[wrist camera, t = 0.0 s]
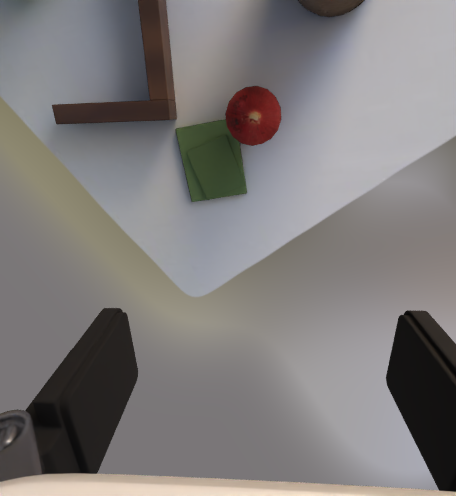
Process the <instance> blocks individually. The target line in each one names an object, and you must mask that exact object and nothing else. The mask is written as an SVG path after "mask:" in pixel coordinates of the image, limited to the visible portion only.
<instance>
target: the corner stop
mask: <svg viewBox="0 0 456 496" xmlns="http://www.w3.org/2000/svg"><path fill="white" fill-rule="evenodd" d="M138 5H139V13H140V22H141V30H142V38H143V46H144V55H145V63H146V71H147V80H148V88H149V96H150V101H127V102H104V103H81V104H58V105H52V108H53V112H54V116H55V121H56V124H77V123H103V122H129V121H155V120H175V119H177V115H176V104H175V93H174V82H173V71H172V61H171V50H170V39H169V28H168V17H167V6H166V0H138Z"/></svg>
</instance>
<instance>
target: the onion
mask: <svg viewBox="0 0 456 496" xmlns="http://www.w3.org/2000/svg"><path fill="white" fill-rule="evenodd" d="M225 115H226V124H227V128H228V129H229V131H230V133H231V134H232V136H233V137H234V138H235V139H237V140H238V141H239V142H241V143H242V144H247V145H251V146H253V145H258V144H262V143H264V142H266V141H268V140H270V139H271V138H272V137H273V136H274V134H275V133H276V132H277V131H278V128H279V125H280V121H281V108H280V105H279V103H278V101H277V99H276V97H275V96H274V95H273V94H272V93H271V92H270V91H269V90H268V89H265V88H262V87H258V86H252V87H246V88H244V89H242V90H240V91H238V92H236V94H235V95H234V96H233V97H232V99H231V100H230V101H229V104H228V107H227V110H226V113H225Z"/></svg>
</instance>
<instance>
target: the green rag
mask: <svg viewBox="0 0 456 496" xmlns="http://www.w3.org/2000/svg"><path fill="white" fill-rule="evenodd" d="M176 134H177V138H178V142H179V147H180V151H181V156H182V160H183V165H184V169H185V173H186V178H187V182H188V187H189V191H190V196H191V200H192V202H195V201H202V200H209V199H214V198H221V197H227V196H233V195H239V194H246V193H247V189H246V183H245V176H244V170H243V163H242V157H241V151H240V144H239V141H238V140H237V139H235V138H234V137H233V136H232V134H231V133H230V131H229V129H228V128H227V124H226V119H225V120H220V121H214V122H209V123H204V124H199V125H193V126H188V127H183V128H178V129H176Z"/></svg>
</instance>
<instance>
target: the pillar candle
mask: <svg viewBox="0 0 456 496" xmlns="http://www.w3.org/2000/svg"><path fill="white" fill-rule="evenodd" d="M298 1H299V2H300V3H301V4H302V5H303V6H304V7H305V8H306V9H308V10H309V11H311V12H313V13H315V14H318V15H320V16H327V17H332V16H338V15H343V14H345V13H347V12H350V11H351V10H353V9H354V8H356V7H357V6H359V5H360V4H361V3H362V2H363V1H364V0H298Z"/></svg>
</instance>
